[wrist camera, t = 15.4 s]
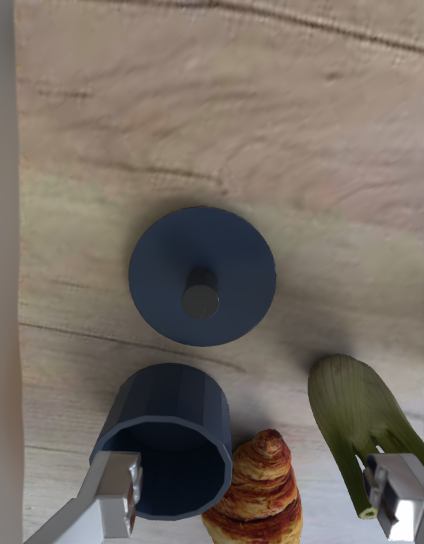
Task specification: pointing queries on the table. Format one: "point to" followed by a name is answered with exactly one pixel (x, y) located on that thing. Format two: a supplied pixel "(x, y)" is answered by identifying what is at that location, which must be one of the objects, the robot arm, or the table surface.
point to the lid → (202, 276)
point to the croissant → (258, 496)
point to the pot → (173, 439)
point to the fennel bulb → (358, 420)
